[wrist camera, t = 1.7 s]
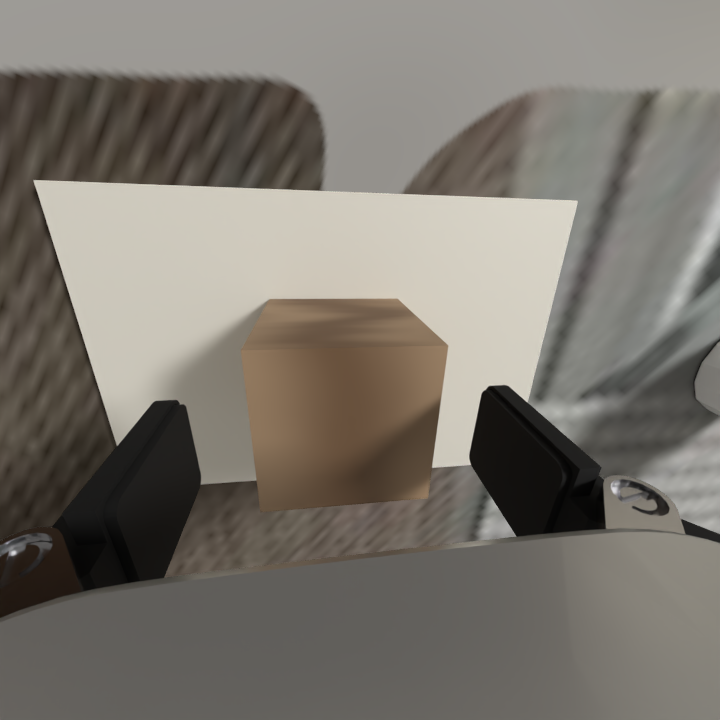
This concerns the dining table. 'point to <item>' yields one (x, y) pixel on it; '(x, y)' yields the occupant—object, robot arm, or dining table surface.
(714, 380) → the white cup
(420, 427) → the walnut block
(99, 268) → the board
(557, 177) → the dining table surface
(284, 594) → the robot arm
